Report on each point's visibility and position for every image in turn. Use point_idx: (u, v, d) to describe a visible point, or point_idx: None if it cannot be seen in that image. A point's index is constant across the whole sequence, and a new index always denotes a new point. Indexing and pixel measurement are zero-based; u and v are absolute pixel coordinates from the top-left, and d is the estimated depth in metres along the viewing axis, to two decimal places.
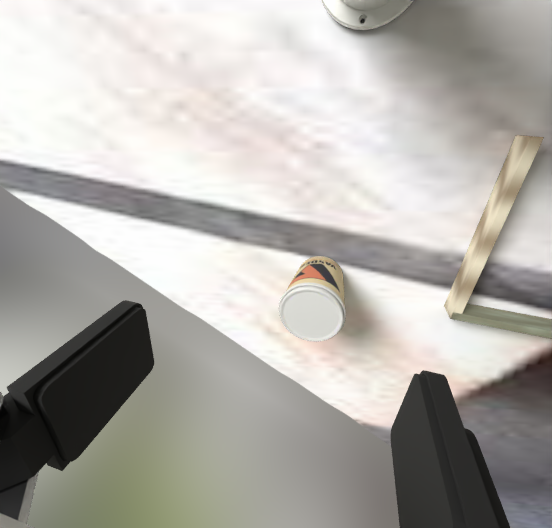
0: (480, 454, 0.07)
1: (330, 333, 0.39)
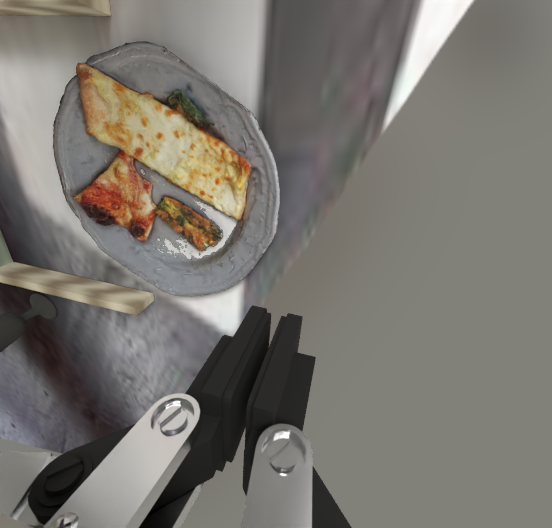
0: None
1: None
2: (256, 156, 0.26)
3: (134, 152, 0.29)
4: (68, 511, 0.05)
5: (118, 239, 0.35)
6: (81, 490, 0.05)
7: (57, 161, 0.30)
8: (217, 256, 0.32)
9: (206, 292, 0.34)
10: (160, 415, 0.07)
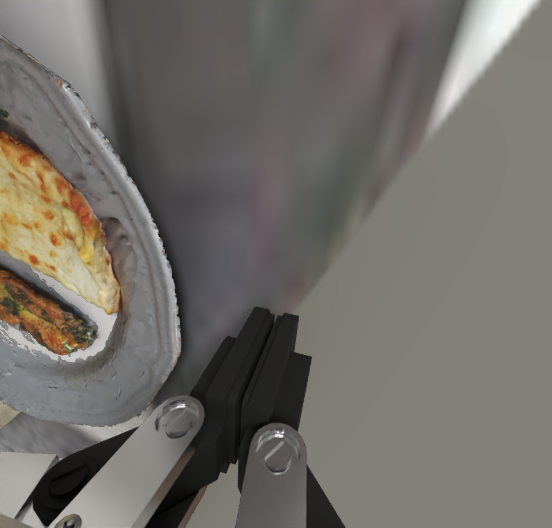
0: (309, 370, 0.09)
1: None
2: (109, 193, 0.10)
3: None
4: (73, 515, 0.05)
5: None
6: (86, 493, 0.05)
7: None
8: (95, 365, 0.17)
9: (83, 423, 0.18)
10: (164, 417, 0.06)
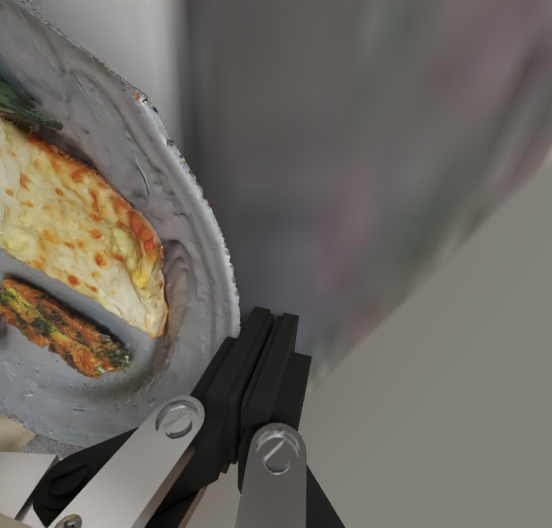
0: None
1: None
2: (175, 215, 0.09)
3: None
4: (73, 515, 0.05)
5: None
6: (86, 494, 0.05)
7: None
8: (128, 389, 0.16)
9: None
10: (164, 417, 0.06)
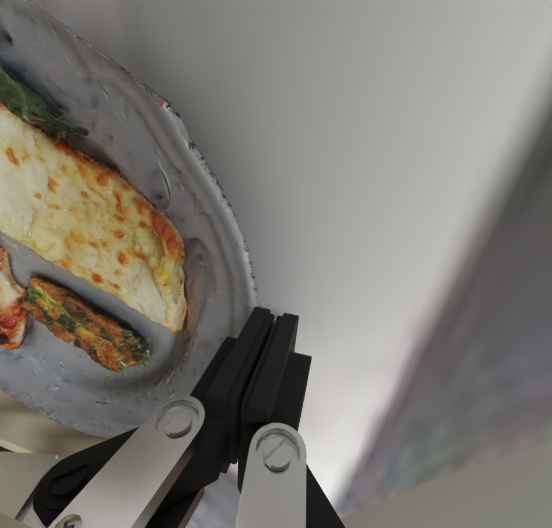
0: None
1: None
2: (195, 214, 0.10)
3: None
4: (73, 515, 0.05)
5: None
6: (86, 494, 0.05)
7: None
8: (149, 382, 0.17)
9: None
10: (164, 417, 0.06)
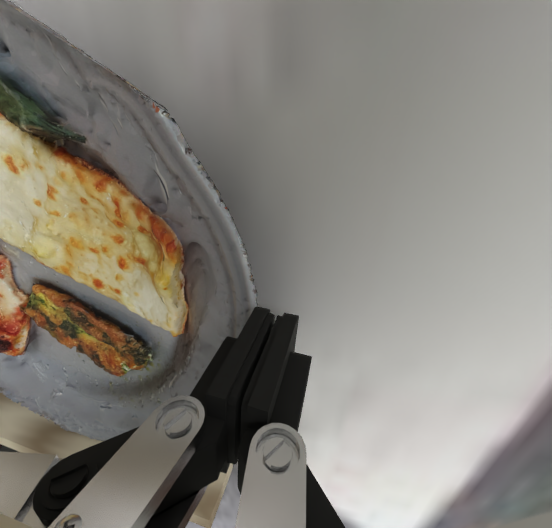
0: None
1: None
2: (193, 219, 0.10)
3: None
4: (73, 515, 0.05)
5: None
6: (86, 493, 0.05)
7: None
8: (151, 385, 0.17)
9: None
10: (165, 417, 0.06)
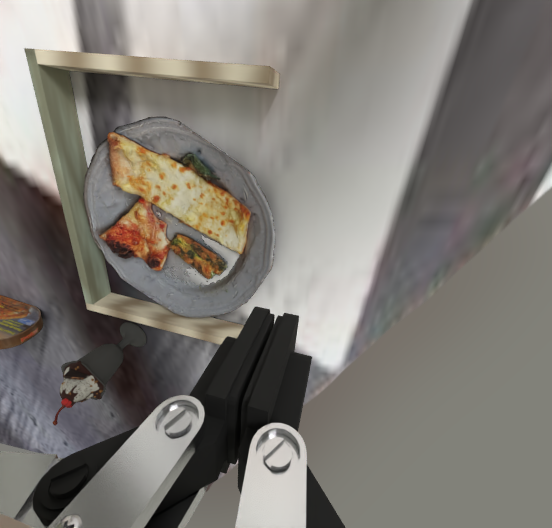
0: (308, 370, 0.09)
1: None
2: (255, 205, 0.31)
3: (152, 199, 0.34)
4: (73, 515, 0.05)
5: (136, 269, 0.40)
6: (86, 493, 0.05)
7: (86, 206, 0.36)
8: (222, 283, 0.37)
9: (213, 314, 0.39)
10: (164, 417, 0.06)
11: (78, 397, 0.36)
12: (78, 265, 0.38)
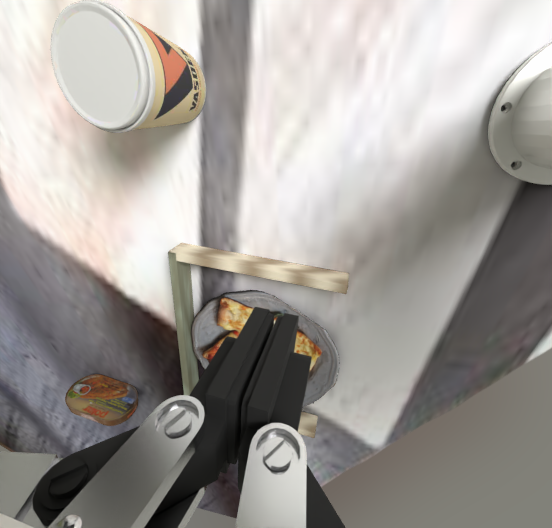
0: (309, 370, 0.09)
1: (82, 110, 0.25)
2: (325, 346, 0.43)
3: None
4: (73, 515, 0.05)
5: None
6: (86, 493, 0.05)
7: (192, 334, 0.48)
8: None
9: None
10: (164, 417, 0.06)
11: None
12: (183, 372, 0.51)
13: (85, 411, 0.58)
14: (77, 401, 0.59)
